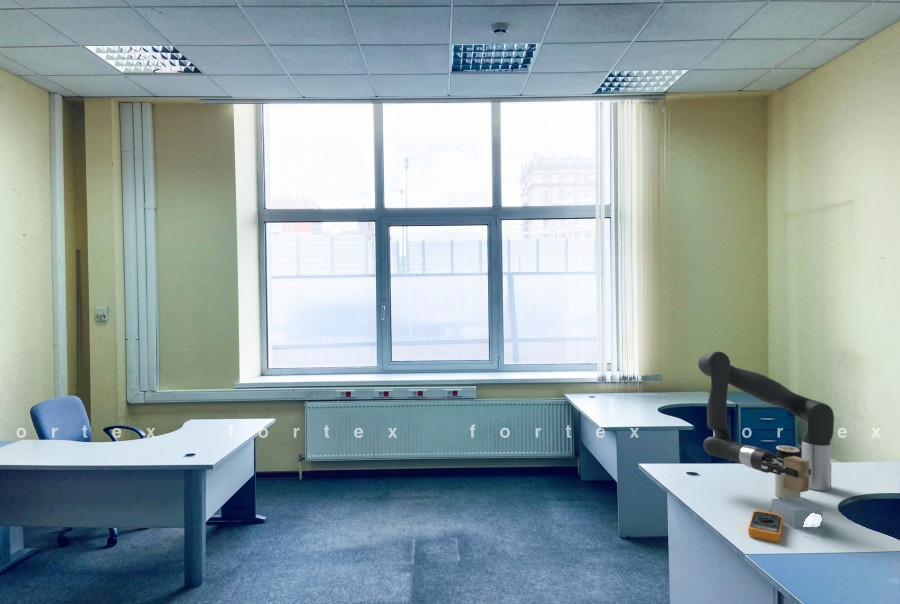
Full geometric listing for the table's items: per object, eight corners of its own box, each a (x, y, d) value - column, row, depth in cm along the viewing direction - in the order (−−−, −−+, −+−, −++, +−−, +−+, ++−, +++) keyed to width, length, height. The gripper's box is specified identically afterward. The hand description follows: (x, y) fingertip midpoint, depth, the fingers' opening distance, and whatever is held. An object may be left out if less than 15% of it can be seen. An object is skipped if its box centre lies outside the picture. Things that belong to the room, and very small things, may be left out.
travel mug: (787, 501, 195) (787, 451, 195) (769, 493, 203) (770, 445, 203) (805, 499, 197) (806, 450, 197) (787, 492, 205) (788, 444, 204)
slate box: (798, 515, 184) (798, 497, 184) (822, 527, 174) (822, 508, 174) (771, 516, 183) (771, 498, 183) (794, 529, 173) (794, 510, 173)
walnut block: (793, 485, 182) (794, 456, 181) (808, 490, 177) (809, 460, 177) (783, 487, 180) (784, 457, 179) (798, 492, 175) (798, 461, 175)
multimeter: (783, 524, 177) (783, 513, 177) (780, 545, 162) (780, 533, 162) (753, 518, 182) (753, 508, 181) (747, 538, 167) (747, 527, 167)
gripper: (742, 450, 189) (789, 464, 173) (771, 445, 194) (819, 459, 178) (742, 471, 189) (788, 487, 173) (770, 466, 194) (818, 482, 178)
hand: (804, 473), depth 176 cm, fingers closed on walnut block, 5 cm apart
